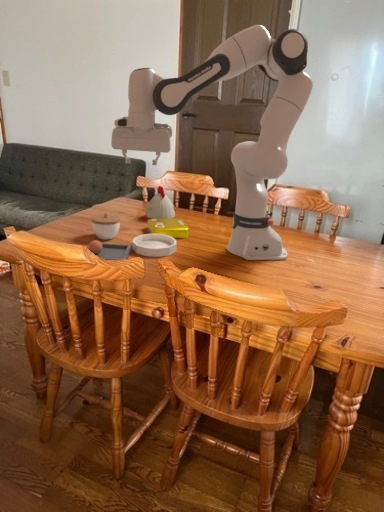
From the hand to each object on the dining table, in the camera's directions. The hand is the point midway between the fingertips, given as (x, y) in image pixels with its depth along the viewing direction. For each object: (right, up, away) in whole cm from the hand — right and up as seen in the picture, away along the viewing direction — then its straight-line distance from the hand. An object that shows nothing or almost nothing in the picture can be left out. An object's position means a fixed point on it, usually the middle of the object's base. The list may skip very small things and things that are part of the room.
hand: (141, 164), depth 123 cm
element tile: (+7, -23, +24) cm, 34 cm away
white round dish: (+4, -29, +6) cm, 30 cm away
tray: (-11, -32, -4) cm, 34 cm away
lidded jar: (-16, -25, +14) cm, 33 cm away
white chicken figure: (+3, -15, +42) cm, 44 cm away
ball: (-15, -29, -5) cm, 33 cm away
